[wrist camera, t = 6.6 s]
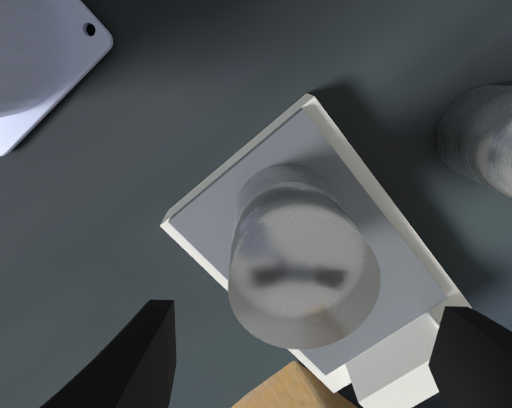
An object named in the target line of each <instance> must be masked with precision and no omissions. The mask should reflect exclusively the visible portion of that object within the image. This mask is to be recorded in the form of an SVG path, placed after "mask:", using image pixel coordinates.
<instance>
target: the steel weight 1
mask: <svg viewBox="0 0 512 408" xmlns="http://www.w3.org/2000/svg"><path fill="white" fill-rule="evenodd" d="M380 284H381V275H380V268H379V264H378V261H377V258H376V256H375V254H374V252H373V250H372V249H371V247H370V246H369V244H368V243H367V241H366V240H365V239H364V237H363V236H362V234H361V233H360V232H359V230H358V229H357V227H356V226H355V225H354V223H353V222H352V220H351V219H350V217H349V216H348V215H347V213H346V212H345V210H344V209H343V208H342V206H341V205H340V203H339V202H338V201H337V199H336V198H335V196H334V195H333V194H332V192H331V191H330V189H329V188H328V187H327V185H326V184H325V182H324V181H323V180H322V179H321V178H320V177H319V176H318V175H317V174H315V173H314V172H312V171H311V170H309V169H306V168H304V167H301V166H297V165H291V164H281V165H275V166H271V167H268V168H265V169H263V170H261V171H259V172H258V173H256V174H254V175H253V176H252V177H251V178H250V179H249V180H248V181H247V182H246V183H245V184H244V186H243V187H242V189H241V190H240V192H239V194H238V197H237V200H236V205H235V213H234V224H233V235H232V246H231V256H230V267H229V278H228V295H229V301H230V304H231V307H232V310H233V312H234V314H235V316H236V317H237V319H238V321H239V322H240V323H241V324H242V325H243V327H244V328H245V329H246V330H248V331H249V332H250V333H251V334H252V335H254V336H255V337H257V338H258V339H260V340H262V341H264V342H266V343H268V344H271V345H274V346H277V347H281V348H287V349H299V350H302V349H313V348H319V347H323V346H326V345H329V344H332V343H334V342H337V341H339V340H341V339H343V338H344V337H346V336H348V335H349V334H351V333H352V332H353V331H355V330H356V329H357V328H358V327H359V326H360V325H361V324H362V323H363V322H364V321H365V320H366V319H367V317H368V316H369V314H370V313H371V312H372V310H373V308H374V306H375V304H376V301H377V299H378V296H379V291H380Z"/></svg>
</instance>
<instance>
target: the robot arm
mask: <svg viewBox="0 0 512 408" xmlns="http://www.w3.org/2000/svg"><path fill="white" fill-rule="evenodd" d="M89 24H93V25H94V27H95V30H96V32H95V34H94V35H93V36H90V35H88V33H87V26H88V25H89ZM112 46H113V38H112V35H111V34H110V32H109V31H108V30H107V29H106V28H105V27H104V26H103V24H102V23H101V22H100V21H99V20H98V19H97V18H96V17H95V15H94V14H93V13H92V12H91V11H90V10H89V9H88V8H87V7H86V5H85V4H84V3H83V2H82V1H81V0H0V156H4V155H7V154H8V153H10V152H11V151H12V150H13V149H14V148H15V147H16V146H17V145H18V144H19V143H20V142H21V141H22V140H23V139H24V138H25V137H26V136H27V135H28V134H29V133H30V132H31V131H32V129H33V128H34V127H35V126H36V125H37V124H38V123H39V122H40V121H41V120H42V119H43V118H44V117H45V116H46V115H47V114H48V113H49V112H50V111H51V110H52V109H53V108H54V107H55V106H56V105H57V104H58V103H59V102H60V101H61V100H62V99H63V98H64V97H65V96H66V95H67V94H68V93H69V92H70V91H71V90H72V89H73V88H74V87H75V85H76V84H77V83H78V82H79V81H80V80H81V79H82V78H83V77H84V76H85V75H86V74H87V73H88V72H89V71H90V70H91V69H92V68H93V67H94V66H95V65H96V64H97V63H98V62H99V61H100V60H101V59H102V58H103V57H104V56H105V55H106V54H107V53H108V52H109V51H110V50H111V48H112ZM428 366H429V369H430V371H431V374H432V376H433V378H434V381H435V383H436V386H437V388H438V390H439V393H440V395H441V397H442V399H443V401H444V404H445V406H446V407H447V408H512V332H511V331H510V330H508V329H506V328H505V327H503V326H501V325H500V324H498V323H496V322H494V321H493V320H491V319H489V318H488V317H486V316H484V315H482V314H480V313H479V312H477V311H475V310H473V309H471V308H469V307H462V306H445V308H444V312H443V315H442V319H441V322H440V326H439V329H438V333H437V336H436V340H435V343H434V347H433V350H432V354H431V357H430V361H429V364H428ZM175 368H176V338H175V312H174V300H150V301H148V302H147V303H146V304H145V305H144V306H143V307H142V309H141V310H140V311H139V312H138V313H137V314H136V315H135V316H134V317H133V318H132V320H131V321H130V322H129V323H128V324H127V325H126V326H125V327H124V328H123V329H122V330H121V331H120V332H119V334H118V335H117V336H116V337H115V338H114V339H113V340H112V341H111V342H110V343H109V344H108V345H107V346H106V347H105V348H104V349H103V350H102V351H101V352H100V353H99V354H98V355H97V356H96V357H95V358H94V359H93V360H92V361H91V362H90V363H89V364H88V365H87V366H86V367H85V368H84V369H82V370H81V371H80V372H79V373H78V374H77V375H76V376H75V377H74V378H73V379H72V380H71V381H69V382H68V383H67V384H66V385H65V386H64V387H63V388H62V389H61V390H60V391H59V392H57V393H56V394H55V395H54V396H53V397H52V398H51V399H49V400H48V401H47V402H46V403H45V404H44V405H42V406H41V407H40V408H168V406H169V402H170V397H171V391H172V386H173V380H174V374H175Z"/></svg>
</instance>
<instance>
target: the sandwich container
mask: <svg viewBox="0 0 512 408" xmlns="http://www.w3.org/2000/svg"><path fill="white" fill-rule="evenodd" d="M231 408H358V407H356V406H355V405H354V404H352V403H351V402H350V401H348V400H347V399H346V398H344V397H343V396H342V395H340V394H339V393H338V392H335V393H333V392H332V391H331V390H330V389H329V388H328V387H327V386H326V385H325V384H324V383H323V382H322V381H321V380H319V379H318V378H317V377H316V376H315V375H314V374H313V373H311V372H310V371H309V370H307V369H306V368H305V367H303V366H302V365H301V364H299V363H298V362H297V361H293V362H291V363H289V364H288V365H287V366H285V367H284V368H283V369H281V370H280V371H278V372H277V373H276V374H274V375H273V376H271V377H270V378H269V379H267V380H266V381H265V382H263V383H262V384H260V385H259V386H258V387H256V388H255V389H254V390H252V391H251V392H249V393H248V394H247V395H246V396H244V397H243V398H242V399H241V400H240V401H238V402H237V403H236V404H235V405H234V406H232V407H231Z"/></svg>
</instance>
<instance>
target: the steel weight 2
mask: <svg viewBox="0 0 512 408" xmlns="http://www.w3.org/2000/svg"><path fill="white" fill-rule="evenodd" d="M436 145H437V150H438V153H439V156H440V158H441V159H442V161H443V162H444V163H445V165H447V166H448V167H449V168H450V169H452V170H453V171H455V172H457V173H459V174H461V175H463V176H465V177H468V178H470V179H472V180H474V181H476V182H478V183H480V184H482V185H484V186H486V187H488V188H490V189H492V190H494V191H496V192H498V193H500V194H502V195H505V196H507V197H509V198H511V199H512V86H505V85H483V86H479V87H476V88H473V89H471V90H469V91H467V92H465V93H464V94H462V95H461V96H459V97H458V98H457V99H456V100H454V102H453V103H452V104H451V105H450V106H449V107H448V108H447V110H446V111H445V113H444V114H443V116H442V118H441V120H440V123H439V126H438V129H437V135H436Z"/></svg>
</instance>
